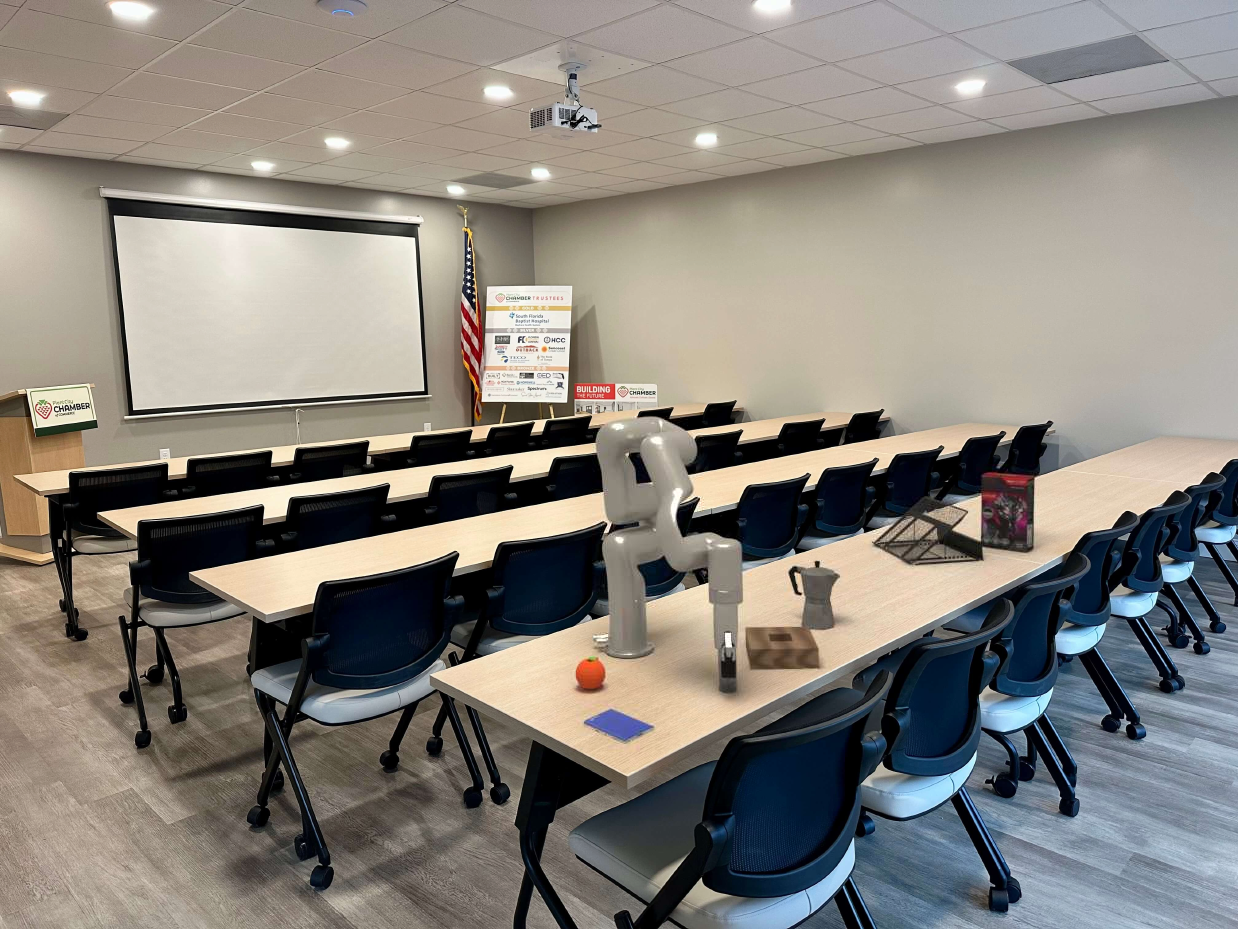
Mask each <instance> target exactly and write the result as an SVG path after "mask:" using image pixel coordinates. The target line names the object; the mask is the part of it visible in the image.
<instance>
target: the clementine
mask: <svg viewBox="0 0 1238 929" xmlns="http://www.w3.org/2000/svg"><path fill="white" fill-rule="evenodd" d="M606 673H607V672H606V668H605V666H604V664H603V663H602V662H601V661H600V660H599V658H598V657H597V656H590V657H587V658H584V659H583V660H581V661H580V662H579V663H578V664H577V666H576V669H575V675H574V676H575V679H576V681H577V683H578V684H579V685H580V686H581V687H582V688H584V689H587V690H594V689H597V688H599V687H601V685H602V684H603V683H604V682H605V679H606Z"/></svg>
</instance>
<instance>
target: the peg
mask: <svg viewBox="0 0 1238 929" xmlns="http://www.w3.org/2000/svg"><path fill="white" fill-rule="evenodd" d="M724 638H725V635H724ZM723 646H726V645H723ZM731 646H732V645H731ZM725 651H726V650H724V652H725ZM734 653H735V660H736V661H737V648H736V649H734ZM717 657H718V659H717V662H718V664H717V665H718V691H719V692H720V693H724V694H733V693H736V692H737V691H738V677H737V675H738V674H737V673H738V672H737V670H738V669H737V665H736V678H722V677H721V660H722V649H721V648H718V649H717ZM724 657H725V656H724Z"/></svg>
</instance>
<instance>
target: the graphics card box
mask: <svg viewBox="0 0 1238 929" xmlns="http://www.w3.org/2000/svg"><path fill="white" fill-rule="evenodd" d="M1035 478H1036V475H1027V474H1026V475H1025V474H1012V473H1001V472H1000V473H998V472H985V473H983V474H982V475H981V498H980V499H981V504H980V505H981V507H980V508H981V509H980V510H981V511H980V512H981V513H980V514H981V515H980V516H981V517H980V541H981V542H982V547H986V548H990V549H991V548H992V549H1001V550H1009V551H1017V552H1024V553H1026V552H1027V553H1028V552H1029V551H1032V550H1034V548H1035V547H1034V545H1035V544H1034V539H1035Z"/></svg>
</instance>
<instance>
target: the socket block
mask: <svg viewBox="0 0 1238 929" xmlns="http://www.w3.org/2000/svg"><path fill="white" fill-rule="evenodd" d="M744 629H745V649H746V654H747V658H748V663H749V668H750V670H803V669H802V668H820V665H819V664H820V663H819V662H820V660H819V659H820V655H819V654H820V653H819V646H818V645H817V642H816V640H815V637H814V636H813V633H812V631H811V629H809V627H804V626H758V627H755V626H753V627H752V626H751V627H746V626H745V628H744Z"/></svg>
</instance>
